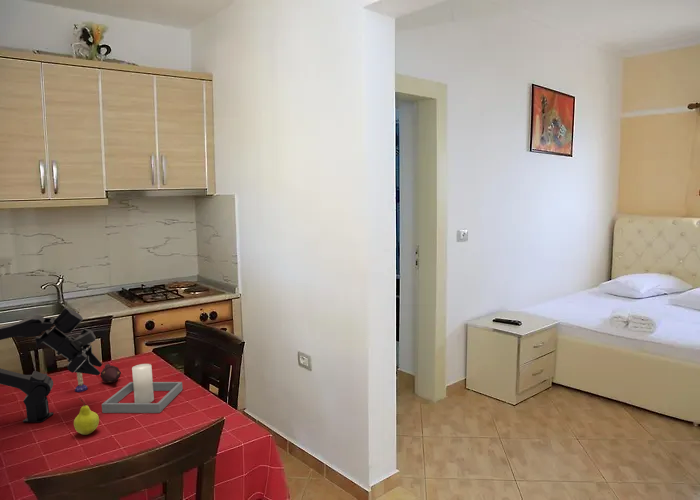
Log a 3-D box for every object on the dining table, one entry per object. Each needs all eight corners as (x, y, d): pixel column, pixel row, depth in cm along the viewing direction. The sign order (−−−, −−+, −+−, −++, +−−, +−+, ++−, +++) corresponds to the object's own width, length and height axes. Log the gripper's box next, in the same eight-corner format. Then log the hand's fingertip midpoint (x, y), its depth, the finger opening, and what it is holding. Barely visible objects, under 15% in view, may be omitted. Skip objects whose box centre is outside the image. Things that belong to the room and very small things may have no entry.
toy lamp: (83, 392, 194) (79, 349, 192) (70, 392, 195) (66, 349, 192) (89, 387, 199) (86, 345, 197) (77, 387, 199) (73, 345, 197)
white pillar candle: (149, 404, 182) (146, 370, 180) (131, 404, 182) (128, 370, 181) (157, 397, 188) (154, 363, 187) (139, 397, 189) (137, 363, 187)
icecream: (126, 368, 200) (117, 362, 212) (105, 368, 196) (97, 361, 208) (123, 387, 200) (114, 379, 212) (102, 387, 195) (94, 379, 207)
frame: (159, 412, 175) (158, 404, 174) (102, 412, 176) (101, 404, 176) (182, 389, 195) (182, 382, 194) (130, 389, 196) (130, 382, 196)
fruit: (94, 426, 166) (90, 390, 165) (104, 432, 162) (100, 395, 161) (71, 434, 161) (67, 397, 160) (81, 440, 157) (77, 402, 155)
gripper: (75, 331, 166) (116, 359, 172) (81, 318, 183) (118, 344, 189) (49, 358, 164) (91, 386, 170) (58, 342, 181) (96, 368, 187)
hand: (100, 369), depth 179 cm, fingers open, 9 cm apart
